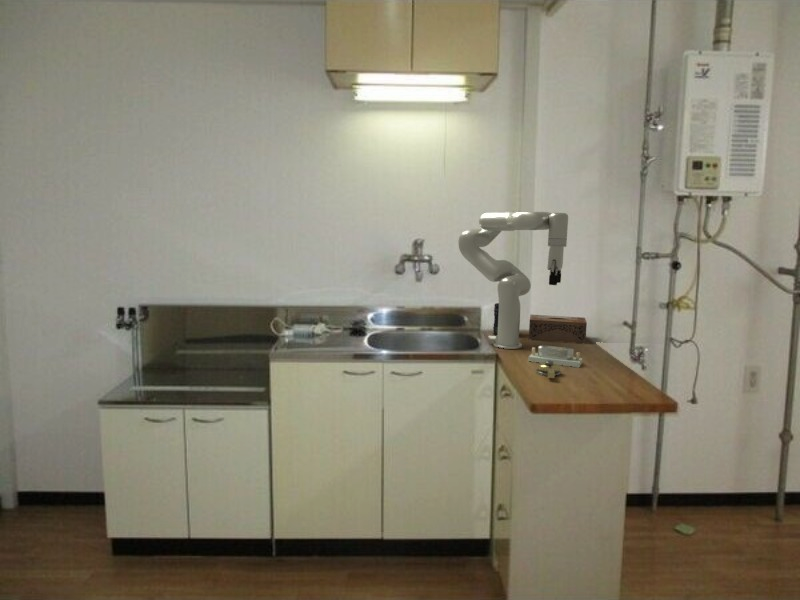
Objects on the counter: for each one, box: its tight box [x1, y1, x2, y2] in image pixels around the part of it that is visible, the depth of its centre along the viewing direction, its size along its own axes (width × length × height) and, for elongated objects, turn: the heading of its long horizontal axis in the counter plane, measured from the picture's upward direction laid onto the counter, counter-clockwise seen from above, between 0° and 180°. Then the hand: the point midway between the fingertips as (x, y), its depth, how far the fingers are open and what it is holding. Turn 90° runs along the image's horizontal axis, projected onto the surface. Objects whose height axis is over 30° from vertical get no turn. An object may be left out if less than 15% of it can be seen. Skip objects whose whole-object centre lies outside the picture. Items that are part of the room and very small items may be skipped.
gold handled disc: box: [537, 361, 561, 379], centre depth 227 cm, size 15×8×3 cm, turn 171°
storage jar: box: [492, 302, 499, 336], centre depth 299 cm, size 10×10×15 cm
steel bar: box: [537, 344, 575, 360], centre depth 247 cm, size 4×14×4 cm, turn 67°
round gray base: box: [535, 368, 562, 377], centre depth 231 cm, size 9×9×1 cm
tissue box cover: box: [528, 314, 588, 344], centre depth 293 cm, size 26×14×10 cm, turn 77°
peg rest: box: [527, 347, 583, 368], centre depth 247 cm, size 20×8×5 cm, turn 67°
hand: (554, 283), depth 257 cm, fingers open, 9 cm apart
